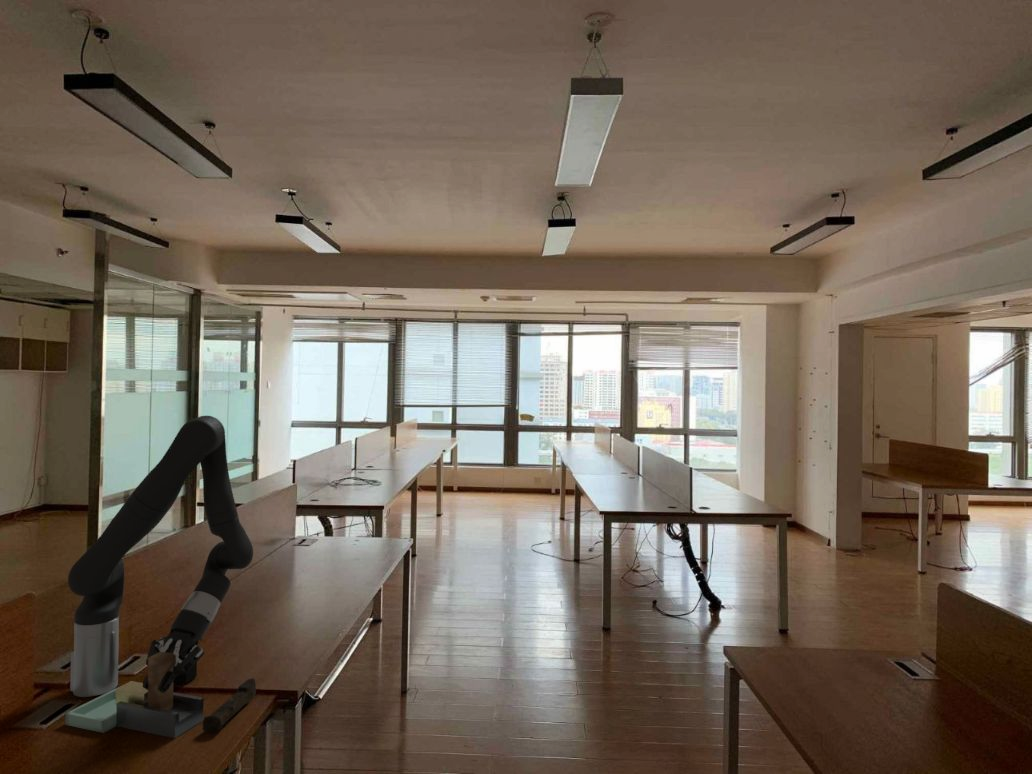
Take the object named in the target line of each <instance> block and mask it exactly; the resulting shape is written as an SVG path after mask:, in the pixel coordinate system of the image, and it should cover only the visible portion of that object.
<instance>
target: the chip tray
mask: <svg viewBox="0 0 1032 774" xmlns="http://www.w3.org/2000/svg"><path fill="white" fill-rule="evenodd" d="M116 713H117V707H116V688H114V689H113V690H111V691H109V692H107V693H104V694H101V695H100V696H98V697H96V698H94V699H92V700H89V701H88V702H86V703H84V704H82V705H79V706H78V707H76V708H74V709H71V710H70V711H67V712H66V713H65V714H64V715H65V716H64V717H65V722H64V723H65V726H70V727H75V728H79V729H83V730H88V731H93V732H97V733H103V734H105V733H106V732H108V731H110V730H113V729H114V728H116V727H117V726H116Z"/></svg>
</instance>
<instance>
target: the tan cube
mask: <svg viewBox="0 0 1032 774" xmlns="http://www.w3.org/2000/svg"><path fill="white" fill-rule="evenodd" d="M141 685H143V682H139V681H133V680H130V681H128V682H127V683H124V684H122V685H120V686H117V687H116V688H115V689H116V707H117V703H118V702H120V701H122V702H127V703H130V691H131V690H133V689H135V688H137V687H139V686H141Z"/></svg>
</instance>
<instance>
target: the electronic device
mask: <svg viewBox="0 0 1032 774" xmlns="http://www.w3.org/2000/svg"><path fill="white" fill-rule="evenodd" d="M165 637H166V636H163V637H160V638H159V639H158V640H157V639H156V640H157V641H161V640H164V639H165ZM187 664H188V663H187ZM187 664H186V665H187ZM186 665H185V666H186ZM197 665H198V661H197V662H196V663H195V665H194V666H193V667H192V668H191V669H190V670H189V671H188V672H187V673H186V674H184V675H183V674H179V675H178V676H176V677H175V679H174V680H173V683H175V684H174V685H178V684H185V685H186V684H188V683H189V682H191V681H192V680H194V679H195V678H197V675H198V674H197V672H198V666H197Z"/></svg>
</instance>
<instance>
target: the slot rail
mask: <svg viewBox="0 0 1032 774" xmlns="http://www.w3.org/2000/svg"><path fill="white" fill-rule="evenodd" d="M204 700H205V699H204V697H203V696H202V697H201V696H197V695H191V694H184V693H180V692H179V693H178V692H174V691H173V708H171V709H169V710H164V709H158V708H153V707H148V706H143V705H138V704H132V703H127V702H122V701H120V702H118V703H117V713H116V727H117V728H118V727H119V728H124V729H129V730H134V731H138V732H143V733H147V734H151V735H152V734H153V735H157V736H162V737H166V738H172V739H177V738H178V737H179V736H181V735H182V734H184V733H185V732H187V731H189V730H190V729H192V728H194V727H195V726H196V725H198V724H199V723H201V722H203V720H204V703H205V702H204Z"/></svg>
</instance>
